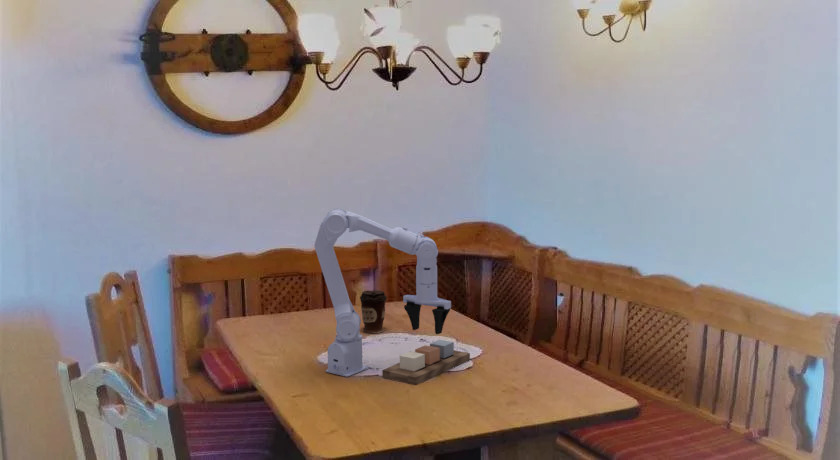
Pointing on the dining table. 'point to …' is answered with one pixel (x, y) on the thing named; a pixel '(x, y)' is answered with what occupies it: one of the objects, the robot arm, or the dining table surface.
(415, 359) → the cream block
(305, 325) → the dining table surface
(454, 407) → the dining table surface
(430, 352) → the salmon brown square block
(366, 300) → the coffee cup
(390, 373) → the board
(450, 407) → the dining table surface
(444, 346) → the button slate
